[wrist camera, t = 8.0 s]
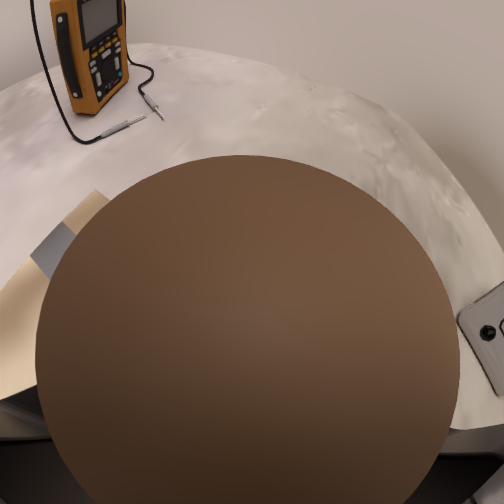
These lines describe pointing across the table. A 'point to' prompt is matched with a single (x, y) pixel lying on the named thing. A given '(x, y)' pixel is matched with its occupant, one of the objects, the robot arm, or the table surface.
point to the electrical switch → (487, 333)
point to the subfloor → (34, 298)
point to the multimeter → (91, 54)
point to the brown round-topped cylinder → (246, 343)
